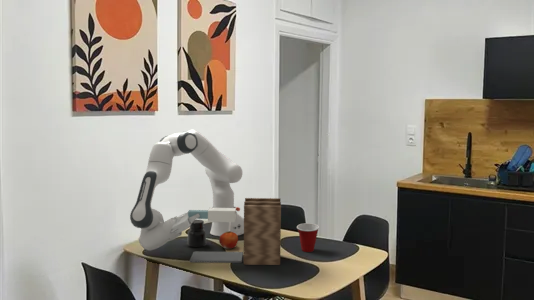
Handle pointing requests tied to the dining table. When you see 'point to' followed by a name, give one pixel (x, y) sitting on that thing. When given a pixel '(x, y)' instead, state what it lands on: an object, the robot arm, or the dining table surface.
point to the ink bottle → (197, 234)
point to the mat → (217, 257)
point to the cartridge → (215, 214)
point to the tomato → (228, 240)
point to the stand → (262, 231)
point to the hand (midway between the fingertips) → (200, 213)
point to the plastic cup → (308, 236)
